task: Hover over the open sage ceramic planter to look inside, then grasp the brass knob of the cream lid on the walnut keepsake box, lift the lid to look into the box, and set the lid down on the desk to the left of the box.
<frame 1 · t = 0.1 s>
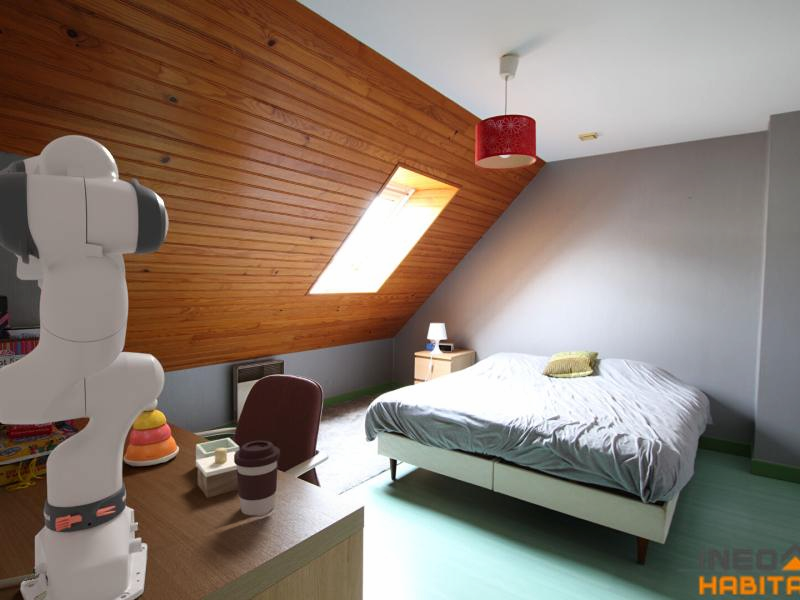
hand: (74, 300, 104), 48 cm above the table, fingers open, 8 cm apart
planter: (217, 470, 124), on the table
coffee cup: (258, 510, 103), on the table
keepsake box: (221, 488, 113), on the table
lid: (221, 465, 113), point 6 cm above the table, touching keepsake box
stacking toy: (152, 460, 132), on the table
decorative doll: (105, 478, 120), on the table
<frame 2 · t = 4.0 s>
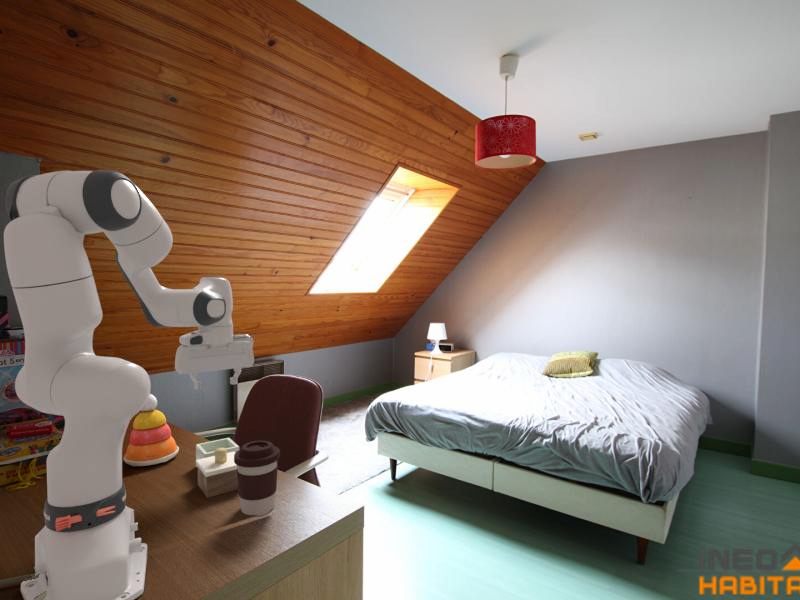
hand: (216, 386, 123), 23 cm above the table, fingers open, 8 cm apart
nothing on the table moved.
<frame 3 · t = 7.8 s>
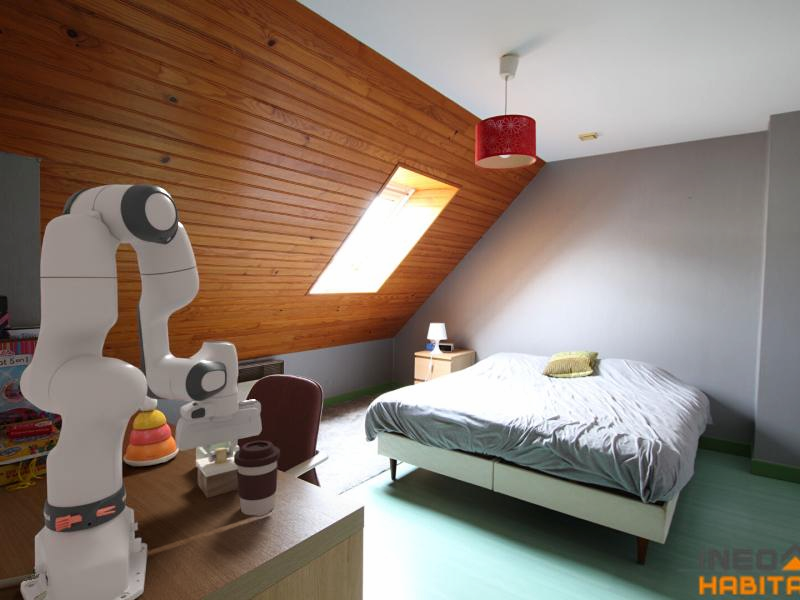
hand: (220, 459, 113), 8 cm above the table, fingers closed on lid, 3 cm apart
lid: (220, 465, 113), point 6 cm above the table, touching gripper, keepsake box
everything else where it was.
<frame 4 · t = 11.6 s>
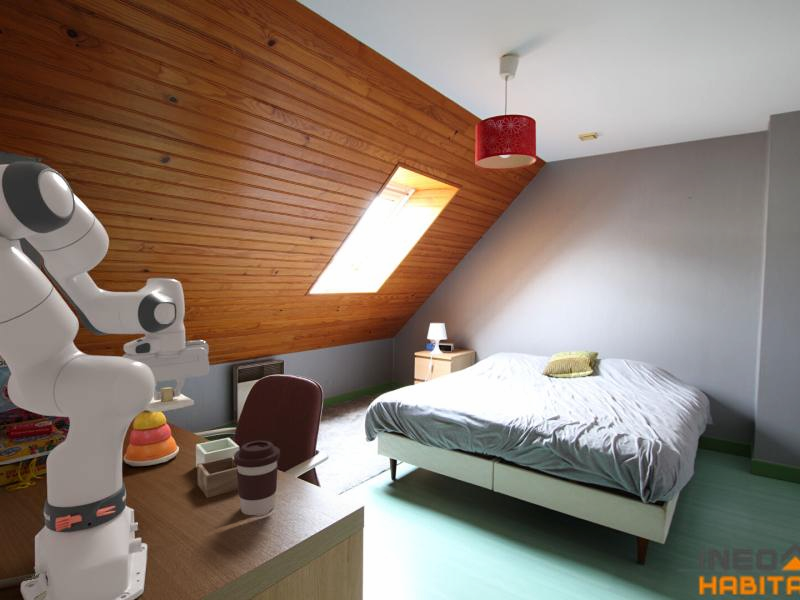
hand: (167, 398, 112), 23 cm above the table, fingers closed on lid, 3 cm apart
lid: (167, 404, 112), point 21 cm above the table, touching gripper
everything else where it was.
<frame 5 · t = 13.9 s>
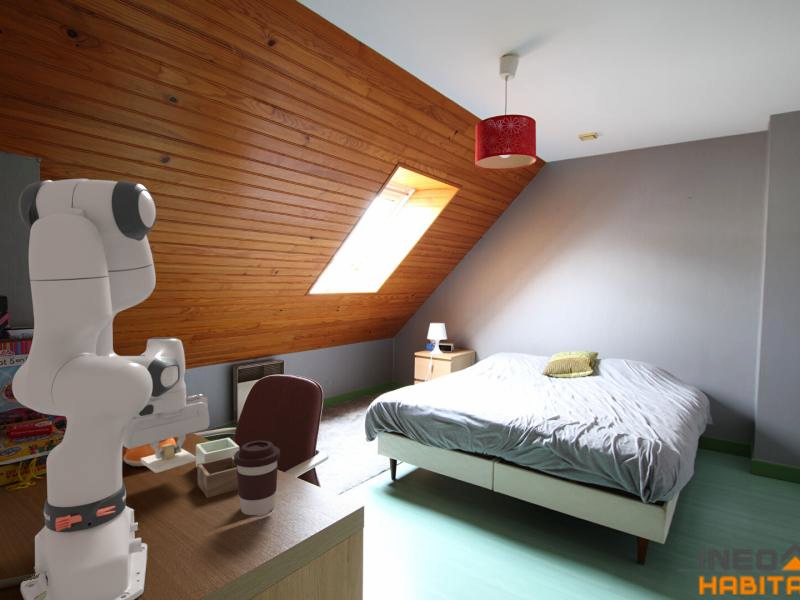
hand: (168, 455, 113), 9 cm above the table, fingers closed on lid, 3 cm apart
lid: (168, 461, 113), point 7 cm above the table, touching gripper
everything else where it was.
when the fingers open (5 cm above the table, at t = 15.5 s): lid drops 3 cm, on the table.
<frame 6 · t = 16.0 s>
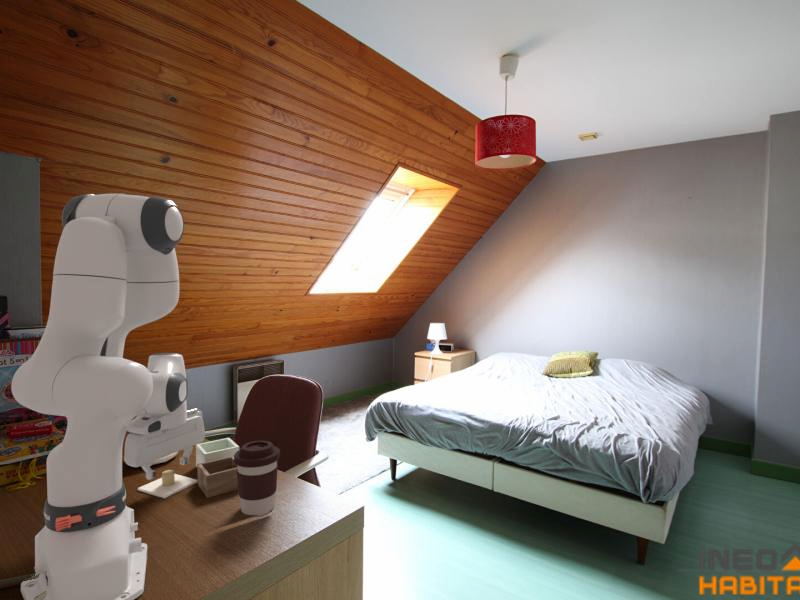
hand: (168, 471, 113), 5 cm above the table, fingers open, 8 cm apart
lid: (168, 487, 113), on the table
everything else where it was.
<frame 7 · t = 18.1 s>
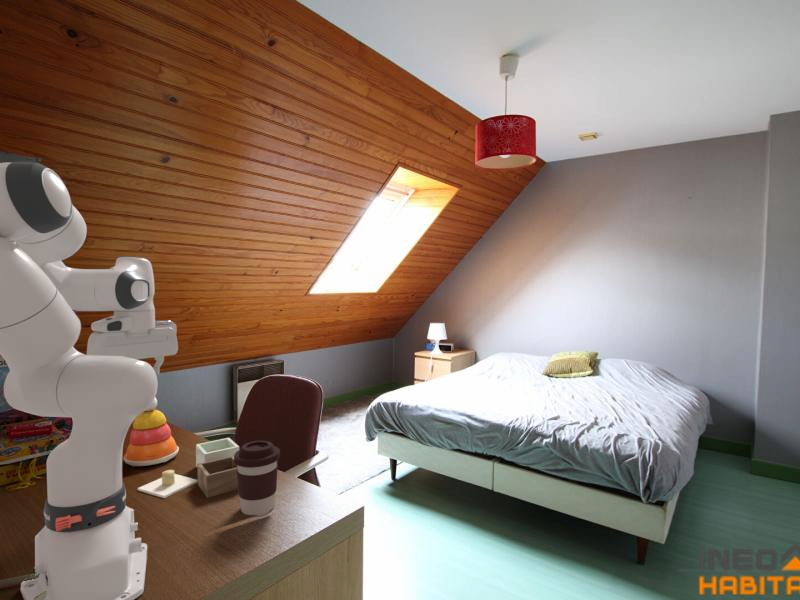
hand: (135, 377, 113), 28 cm above the table, fingers open, 8 cm apart
nothing on the table moved.
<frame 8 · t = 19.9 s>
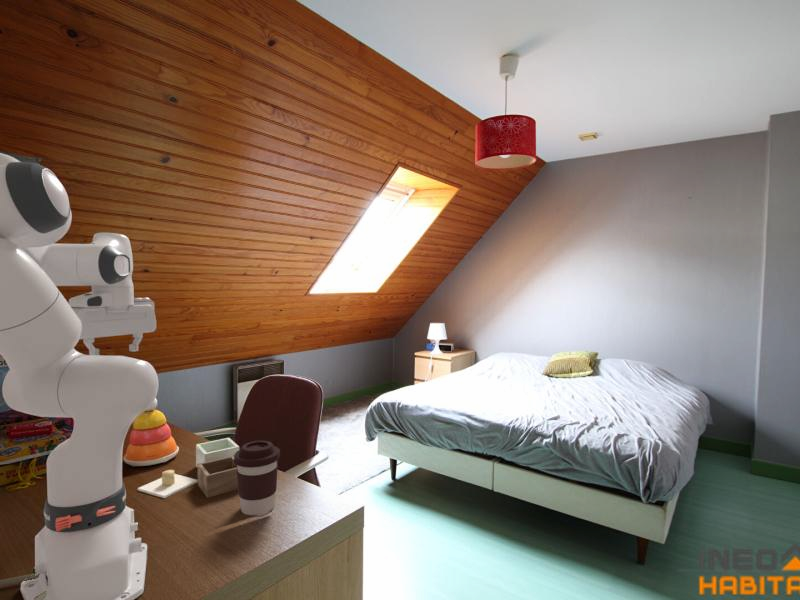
hand: (114, 353, 113), 34 cm above the table, fingers open, 8 cm apart
nothing on the table moved.
at the end: lid inside the target area (0.1 cm from its centre), on the table; the gripper is holding nothing; lid moved 14.4 cm from its start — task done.
